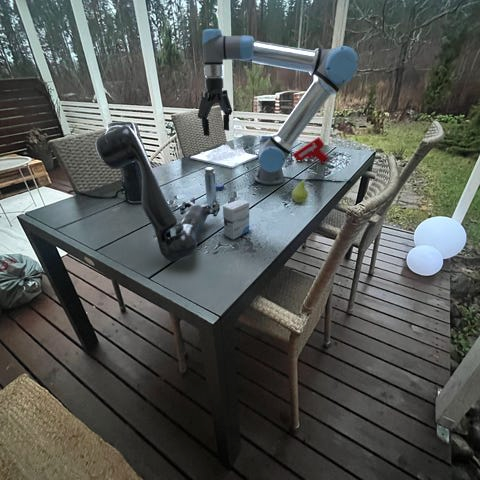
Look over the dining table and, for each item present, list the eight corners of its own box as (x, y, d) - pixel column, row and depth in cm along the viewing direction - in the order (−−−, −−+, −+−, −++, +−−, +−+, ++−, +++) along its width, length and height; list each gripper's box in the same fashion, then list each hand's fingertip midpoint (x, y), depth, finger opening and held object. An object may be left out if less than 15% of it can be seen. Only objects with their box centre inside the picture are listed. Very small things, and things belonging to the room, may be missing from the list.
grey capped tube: (212, 206, 119) (210, 170, 110) (204, 204, 121) (201, 169, 112) (218, 202, 122) (216, 167, 113) (210, 200, 124) (208, 166, 115)
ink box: (240, 226, 103) (240, 197, 97) (249, 231, 100) (250, 202, 94) (223, 234, 98) (222, 205, 92) (232, 240, 95) (232, 209, 89)
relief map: (232, 168, 162) (231, 159, 159) (190, 158, 179) (189, 150, 177) (257, 157, 180) (257, 149, 177) (217, 149, 198) (217, 142, 195)
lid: (224, 186, 138) (224, 182, 137) (224, 190, 134) (223, 186, 132) (214, 186, 138) (213, 183, 137) (213, 190, 133) (213, 186, 132)
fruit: (288, 200, 123) (290, 174, 116) (302, 197, 125) (305, 172, 119) (296, 206, 118) (299, 179, 111) (310, 203, 120) (314, 177, 114)
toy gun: (331, 157, 168) (319, 136, 164) (331, 159, 164) (318, 137, 160) (306, 172, 178) (294, 153, 174) (305, 174, 174) (292, 154, 170)
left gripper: (212, 211, 92) (221, 192, 105) (172, 209, 93) (186, 191, 107) (214, 230, 96) (222, 210, 109) (175, 228, 97) (188, 208, 111)
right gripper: (226, 76, 120) (227, 127, 131) (185, 78, 103) (191, 136, 115) (239, 76, 116) (240, 129, 128) (199, 78, 99) (204, 139, 111)
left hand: (204, 200), depth 108 cm, fingers open, 8 cm apart
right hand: (216, 132), depth 121 cm, fingers open, 13 cm apart
